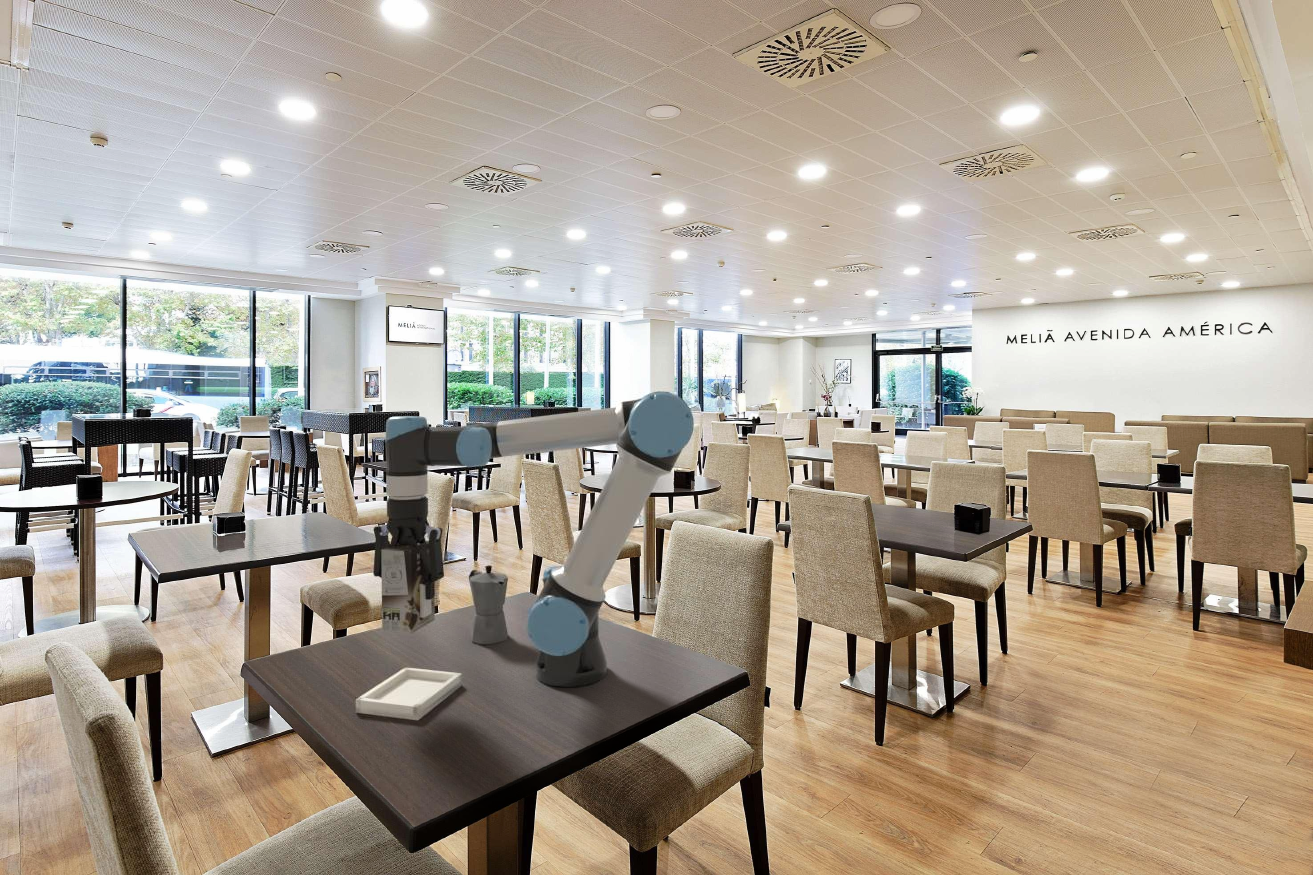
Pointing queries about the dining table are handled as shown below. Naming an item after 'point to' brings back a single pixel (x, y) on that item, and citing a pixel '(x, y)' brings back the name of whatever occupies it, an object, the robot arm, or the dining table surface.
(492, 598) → the coffeepot
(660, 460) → the robot arm
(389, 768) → the dining table surface
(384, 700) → the tray
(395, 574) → the coffee box
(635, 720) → the dining table surface
